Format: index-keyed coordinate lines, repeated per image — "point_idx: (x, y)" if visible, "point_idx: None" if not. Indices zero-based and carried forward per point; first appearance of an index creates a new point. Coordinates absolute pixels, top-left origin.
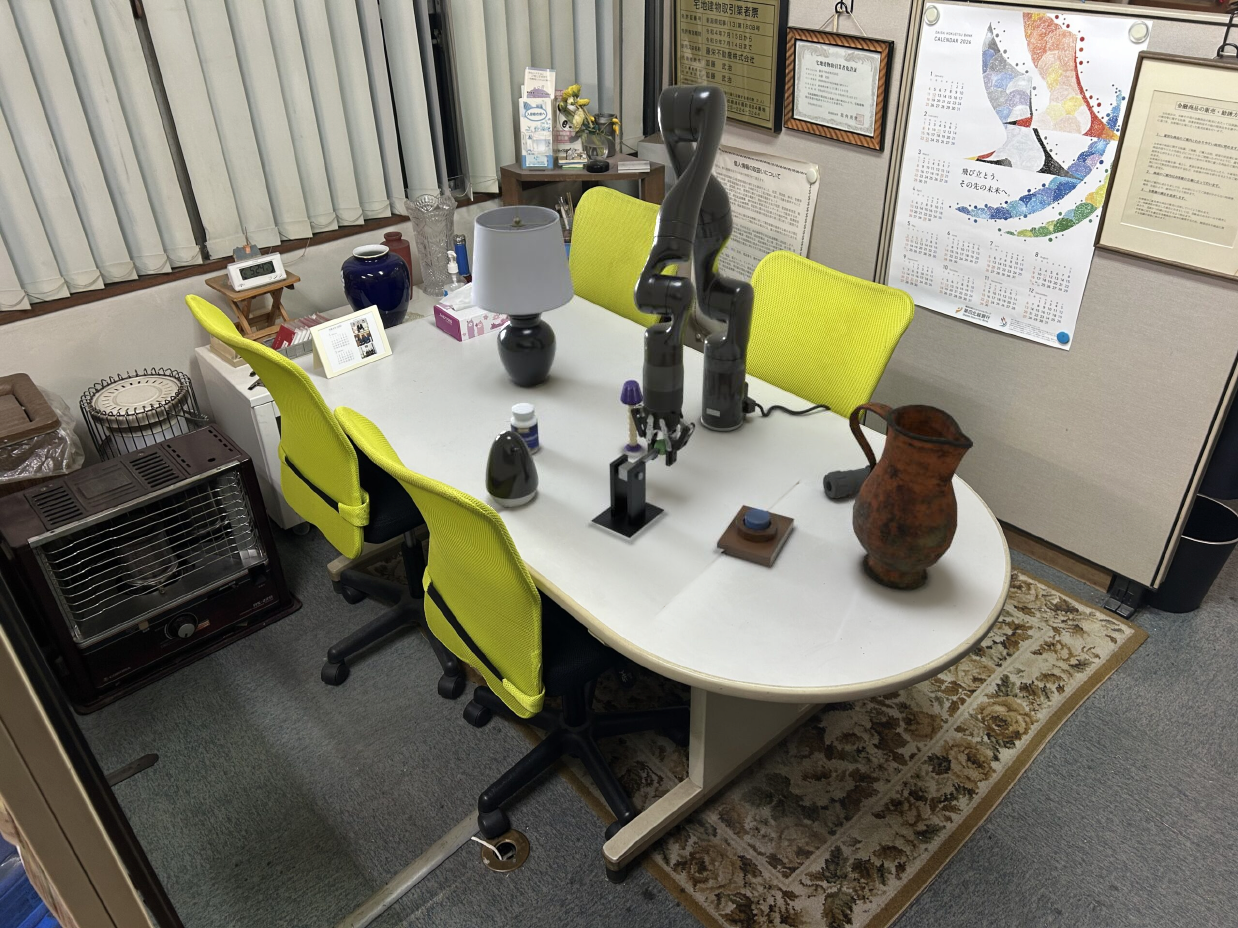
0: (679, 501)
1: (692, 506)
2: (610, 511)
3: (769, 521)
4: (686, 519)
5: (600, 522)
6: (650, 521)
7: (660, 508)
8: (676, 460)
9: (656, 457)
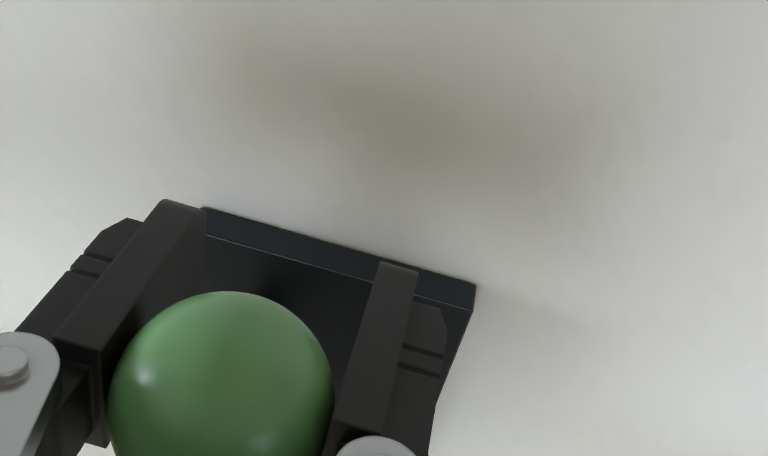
0: (526, 133)
1: (636, 161)
2: None
3: None
4: (624, 292)
5: None
6: (436, 401)
7: (445, 305)
8: (445, 327)
9: (202, 229)
